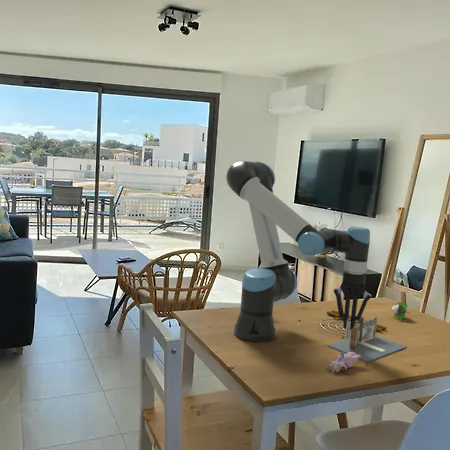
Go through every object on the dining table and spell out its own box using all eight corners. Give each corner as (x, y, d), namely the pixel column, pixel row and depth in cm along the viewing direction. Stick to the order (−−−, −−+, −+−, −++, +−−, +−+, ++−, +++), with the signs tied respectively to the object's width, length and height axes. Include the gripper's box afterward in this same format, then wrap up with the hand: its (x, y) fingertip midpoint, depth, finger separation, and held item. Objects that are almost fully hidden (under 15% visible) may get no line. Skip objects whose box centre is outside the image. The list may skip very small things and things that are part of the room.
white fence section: (358, 343, 169) (361, 318, 168) (353, 340, 171) (355, 317, 170) (376, 337, 177) (379, 314, 176) (370, 335, 179) (373, 312, 178)
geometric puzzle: (398, 308, 212) (395, 296, 207) (413, 312, 207) (410, 300, 203) (391, 320, 208) (388, 308, 204) (406, 324, 203) (403, 312, 199)
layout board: (367, 362, 153) (367, 361, 153) (327, 346, 165) (327, 344, 165) (406, 347, 169) (406, 346, 169) (367, 333, 181) (367, 332, 181)
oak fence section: (354, 340, 170) (356, 321, 169) (359, 341, 169) (361, 322, 168) (348, 348, 162) (350, 328, 161) (354, 349, 161) (356, 329, 160)
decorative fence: (375, 335, 182) (389, 330, 189) (376, 330, 182) (389, 325, 188) (322, 317, 201) (336, 313, 207) (323, 312, 200) (337, 308, 207)
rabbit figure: (337, 381, 141) (366, 363, 150) (337, 363, 140) (367, 345, 149) (320, 373, 146) (350, 356, 155) (320, 355, 145) (350, 339, 154)
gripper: (375, 273, 163) (367, 338, 166) (338, 267, 168) (331, 330, 171) (372, 277, 156) (364, 345, 159) (333, 270, 161) (327, 336, 164)
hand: (347, 337), depth 165 cm, fingers closed
